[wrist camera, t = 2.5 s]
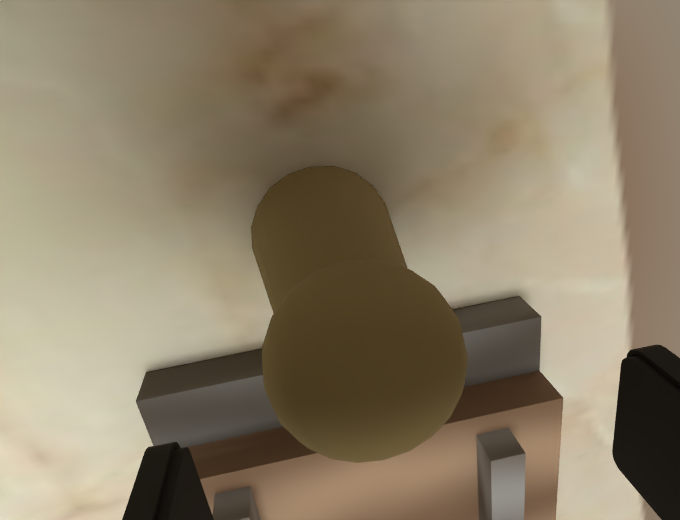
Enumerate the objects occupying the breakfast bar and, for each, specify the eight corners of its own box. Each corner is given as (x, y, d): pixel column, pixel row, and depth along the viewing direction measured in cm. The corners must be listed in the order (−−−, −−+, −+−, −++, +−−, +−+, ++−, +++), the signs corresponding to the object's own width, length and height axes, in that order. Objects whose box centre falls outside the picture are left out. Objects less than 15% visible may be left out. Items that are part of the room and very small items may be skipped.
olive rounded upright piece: (236, 179, 19) (211, 316, 9) (383, 154, 20) (507, 258, 10) (266, 309, 22) (271, 526, 12) (396, 283, 22) (506, 472, 12)
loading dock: (146, 372, 22) (95, 514, 15) (519, 296, 24) (624, 395, 17) (223, 579, 28) (212, 746, 22) (516, 508, 30) (592, 644, 23)
